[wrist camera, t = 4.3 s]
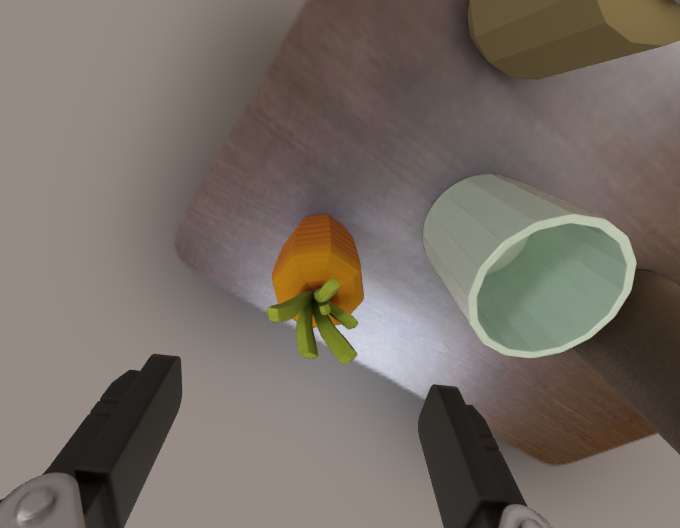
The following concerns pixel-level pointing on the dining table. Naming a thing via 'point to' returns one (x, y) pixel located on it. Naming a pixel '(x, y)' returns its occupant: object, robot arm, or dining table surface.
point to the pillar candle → (644, 352)
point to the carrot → (318, 285)
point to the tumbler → (527, 264)
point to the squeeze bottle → (568, 32)
